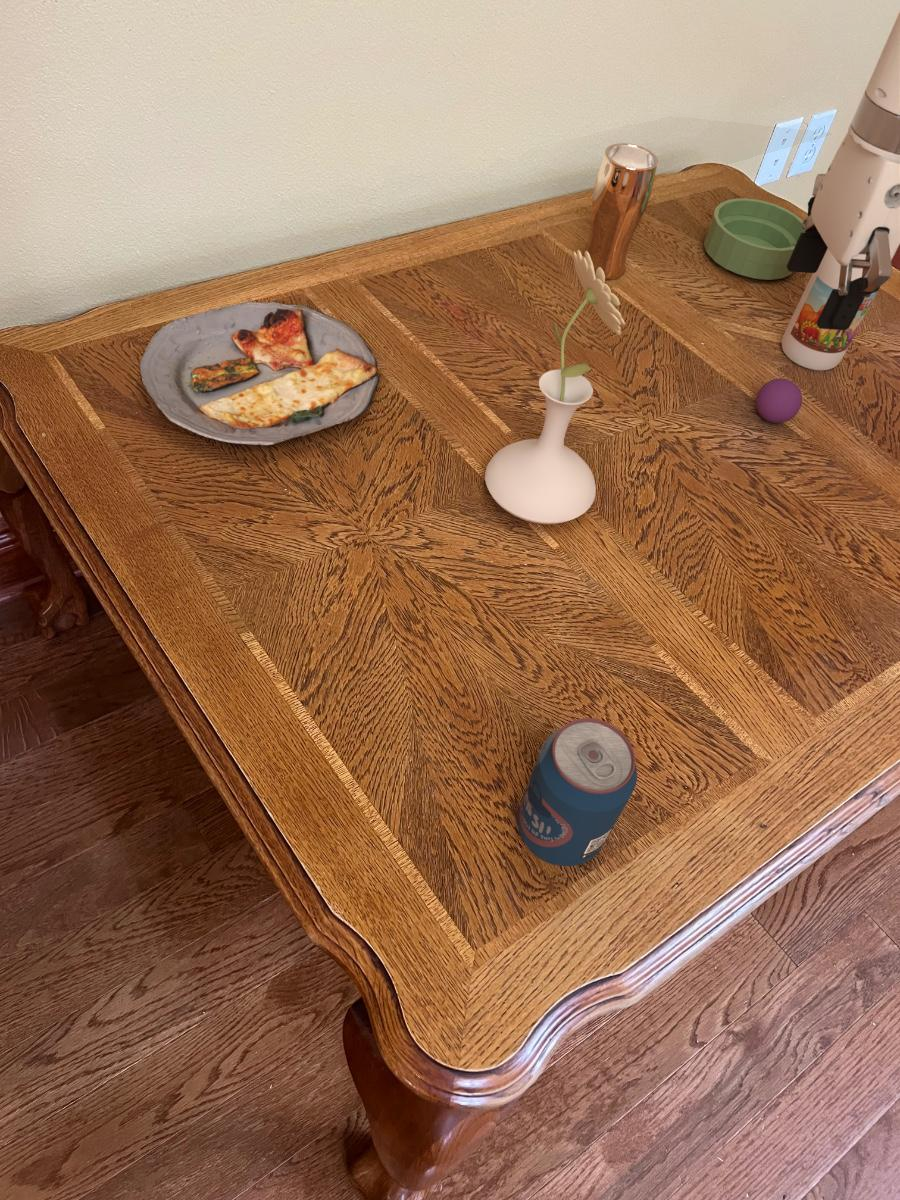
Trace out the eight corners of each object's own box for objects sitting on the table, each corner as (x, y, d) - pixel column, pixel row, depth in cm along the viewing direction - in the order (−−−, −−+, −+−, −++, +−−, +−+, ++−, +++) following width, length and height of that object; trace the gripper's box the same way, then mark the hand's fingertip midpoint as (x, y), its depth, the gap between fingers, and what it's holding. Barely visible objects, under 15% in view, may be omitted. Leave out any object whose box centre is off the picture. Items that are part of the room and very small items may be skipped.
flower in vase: (597, 538, 93) (672, 324, 74) (484, 530, 92) (530, 310, 73) (584, 450, 102) (649, 236, 82) (480, 441, 101) (521, 222, 81)
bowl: (781, 235, 137) (795, 202, 133) (806, 287, 128) (821, 254, 124) (694, 227, 135) (705, 194, 131) (713, 279, 127) (726, 245, 123)
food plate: (312, 298, 113) (312, 272, 111) (417, 412, 102) (420, 386, 100) (110, 352, 103) (105, 325, 100) (203, 486, 92) (200, 459, 89)
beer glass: (568, 254, 126) (594, 142, 115) (615, 251, 128) (645, 141, 117) (588, 283, 122) (617, 171, 111) (635, 280, 124) (669, 169, 113)
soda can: (497, 814, 73) (524, 735, 64) (567, 776, 76) (603, 695, 67) (547, 889, 70) (584, 817, 61) (619, 847, 73) (664, 772, 63)
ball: (785, 405, 111) (802, 371, 107) (796, 433, 108) (814, 399, 104) (744, 402, 110) (760, 367, 107) (755, 430, 107) (771, 396, 103)
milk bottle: (767, 338, 119) (836, 186, 104) (817, 331, 122) (891, 182, 106) (801, 376, 115) (878, 223, 100) (852, 368, 117) (934, 218, 102)
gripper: (981, 178, 76) (881, 353, 89) (901, 84, 87) (823, 253, 100) (895, 171, 75) (807, 349, 88) (825, 77, 86) (756, 248, 99)
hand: (815, 298), depth 94 cm, fingers open, 9 cm apart
